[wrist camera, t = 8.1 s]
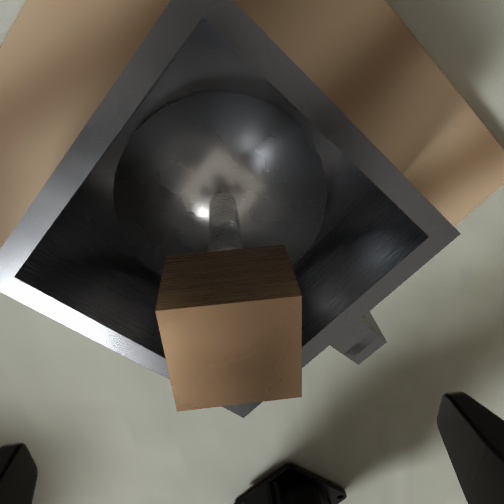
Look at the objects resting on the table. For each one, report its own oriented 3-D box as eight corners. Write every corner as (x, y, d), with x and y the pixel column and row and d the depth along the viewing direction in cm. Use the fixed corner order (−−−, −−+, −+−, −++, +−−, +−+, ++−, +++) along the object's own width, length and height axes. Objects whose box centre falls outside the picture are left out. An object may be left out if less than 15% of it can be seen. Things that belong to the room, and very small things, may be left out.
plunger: (365, 187, 19) (499, 328, 10) (234, 315, 22) (251, 510, 13) (205, 36, 15) (202, 53, 6) (74, 213, 18) (-49, 389, 9)
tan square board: (511, 166, 20) (519, 169, 19) (242, 399, 26) (243, 407, 26) (177, -254, 12) (175, -266, 12) (-91, 219, 18) (-100, 225, 18)
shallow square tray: (426, 209, 20) (494, 268, 15) (266, 353, 24) (281, 437, 19) (200, -18, 15) (196, -38, 10) (38, 212, 18) (-22, 280, 13)
